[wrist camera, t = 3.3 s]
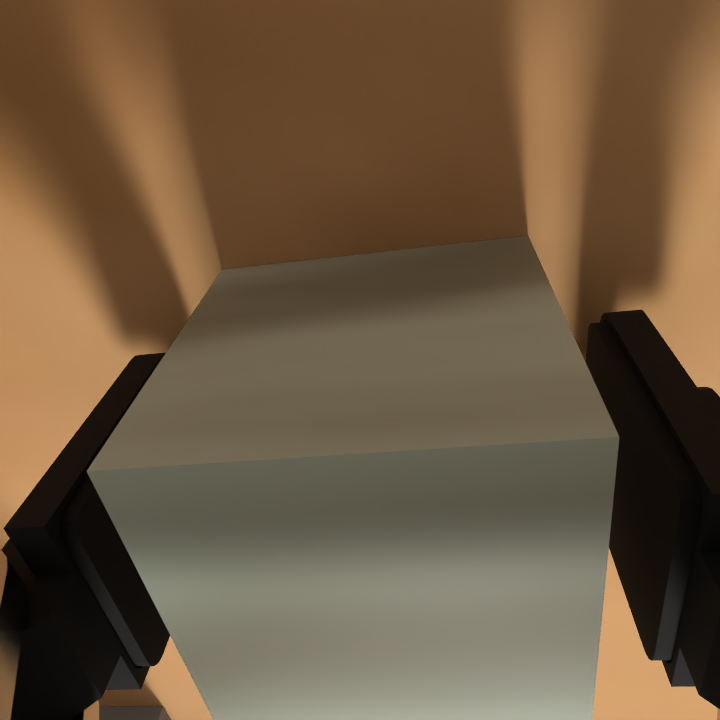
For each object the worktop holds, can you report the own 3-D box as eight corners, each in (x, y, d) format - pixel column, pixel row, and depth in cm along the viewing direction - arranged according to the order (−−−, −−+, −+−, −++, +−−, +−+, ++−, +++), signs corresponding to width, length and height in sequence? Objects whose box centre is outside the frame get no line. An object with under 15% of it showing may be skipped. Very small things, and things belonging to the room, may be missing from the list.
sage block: (223, 268, 10) (86, 470, 6) (526, 233, 9) (619, 436, 5) (285, 486, 13) (221, 735, 8) (528, 472, 12) (590, 737, 8)
